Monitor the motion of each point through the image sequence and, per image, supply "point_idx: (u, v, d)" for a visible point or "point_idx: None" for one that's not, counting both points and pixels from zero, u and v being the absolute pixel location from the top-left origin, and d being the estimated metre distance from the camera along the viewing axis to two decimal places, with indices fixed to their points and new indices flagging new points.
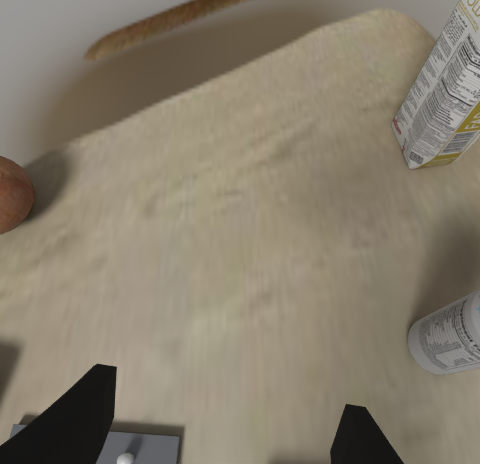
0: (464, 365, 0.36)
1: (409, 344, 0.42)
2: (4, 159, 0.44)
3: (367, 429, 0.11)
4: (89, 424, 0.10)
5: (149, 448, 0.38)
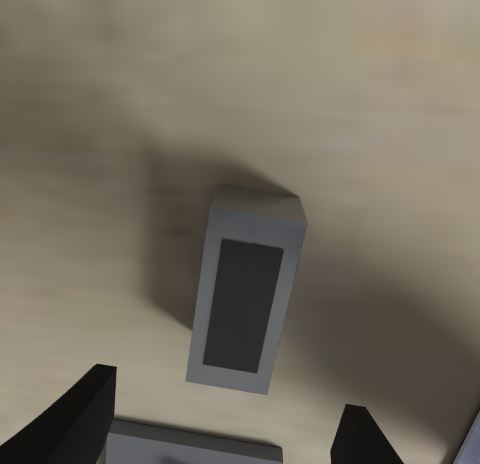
0: None
1: None
2: None
3: (368, 428, 0.11)
4: (89, 424, 0.10)
5: None
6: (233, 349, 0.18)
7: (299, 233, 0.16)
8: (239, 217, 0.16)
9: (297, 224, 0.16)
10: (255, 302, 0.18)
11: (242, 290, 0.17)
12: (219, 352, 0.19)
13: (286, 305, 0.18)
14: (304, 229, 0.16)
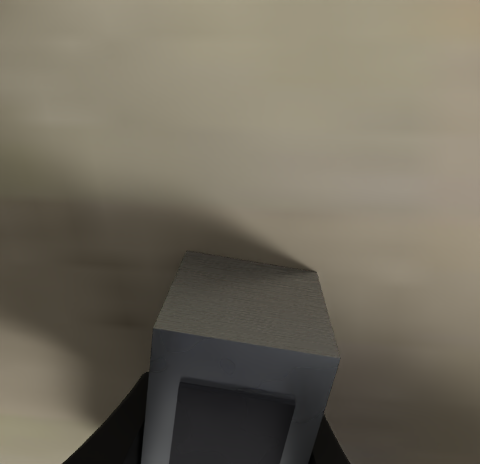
0: None
1: None
2: None
3: None
4: None
5: None
6: None
7: (325, 374, 0.09)
8: (211, 345, 0.09)
9: (322, 359, 0.09)
10: None
11: None
12: None
13: None
14: (334, 368, 0.09)
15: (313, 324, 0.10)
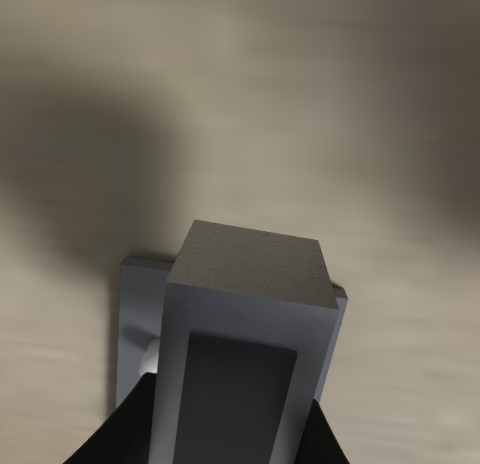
0: None
1: None
2: None
3: (312, 419, 0.11)
4: (146, 433, 0.11)
5: (142, 315, 0.20)
6: None
7: (325, 325, 0.09)
8: (219, 298, 0.09)
9: (321, 311, 0.09)
10: (249, 429, 0.10)
11: (227, 412, 0.10)
12: None
13: (300, 433, 0.11)
14: (334, 319, 0.09)
15: (314, 282, 0.10)
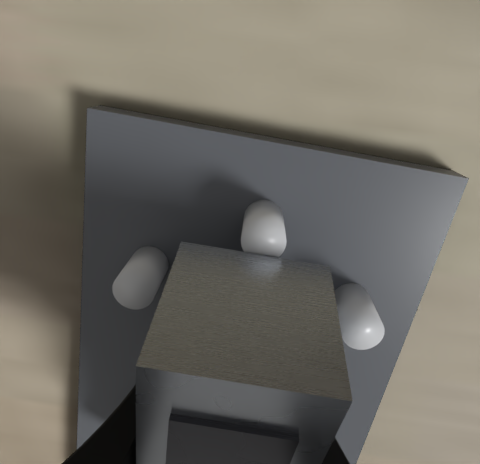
0: None
1: None
2: None
3: None
4: None
5: (121, 204, 0.12)
6: None
7: (334, 414, 0.08)
8: (204, 384, 0.07)
9: (330, 401, 0.07)
10: None
11: None
12: None
13: None
14: (345, 409, 0.07)
15: (323, 349, 0.08)
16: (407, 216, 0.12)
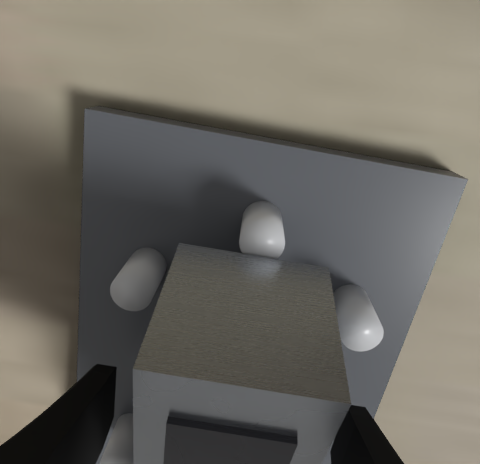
0: None
1: None
2: None
3: (367, 428, 0.11)
4: (89, 424, 0.10)
5: (119, 205, 0.12)
6: None
7: (332, 417, 0.08)
8: (201, 387, 0.07)
9: (329, 404, 0.07)
10: None
11: None
12: None
13: None
14: (344, 412, 0.07)
15: (321, 351, 0.08)
16: (406, 218, 0.12)
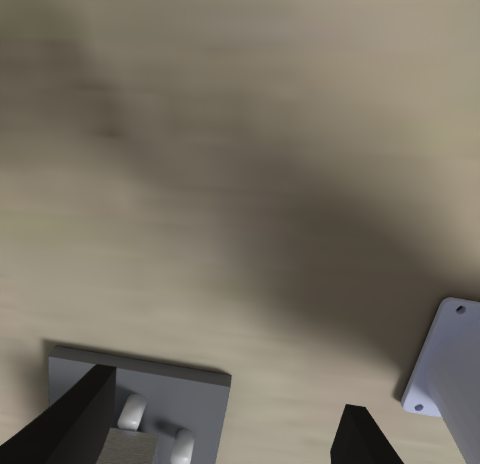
0: None
1: None
2: None
3: (368, 429, 0.11)
4: (89, 424, 0.10)
5: None
6: None
7: None
8: None
9: None
10: None
11: None
12: None
13: None
14: None
15: None
16: (205, 401, 0.25)
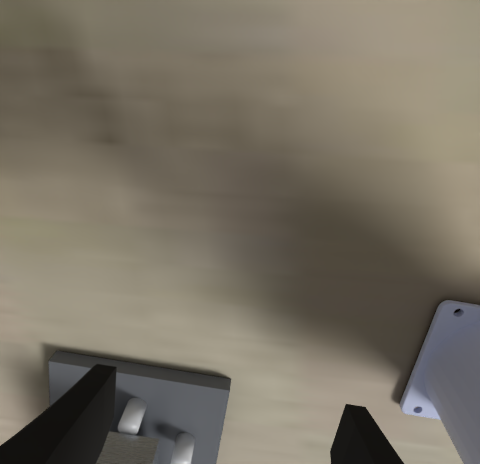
0: None
1: None
2: None
3: (367, 428, 0.11)
4: (89, 424, 0.10)
5: None
6: None
7: None
8: None
9: None
10: None
11: None
12: None
13: None
14: None
15: None
16: (205, 405, 0.25)
